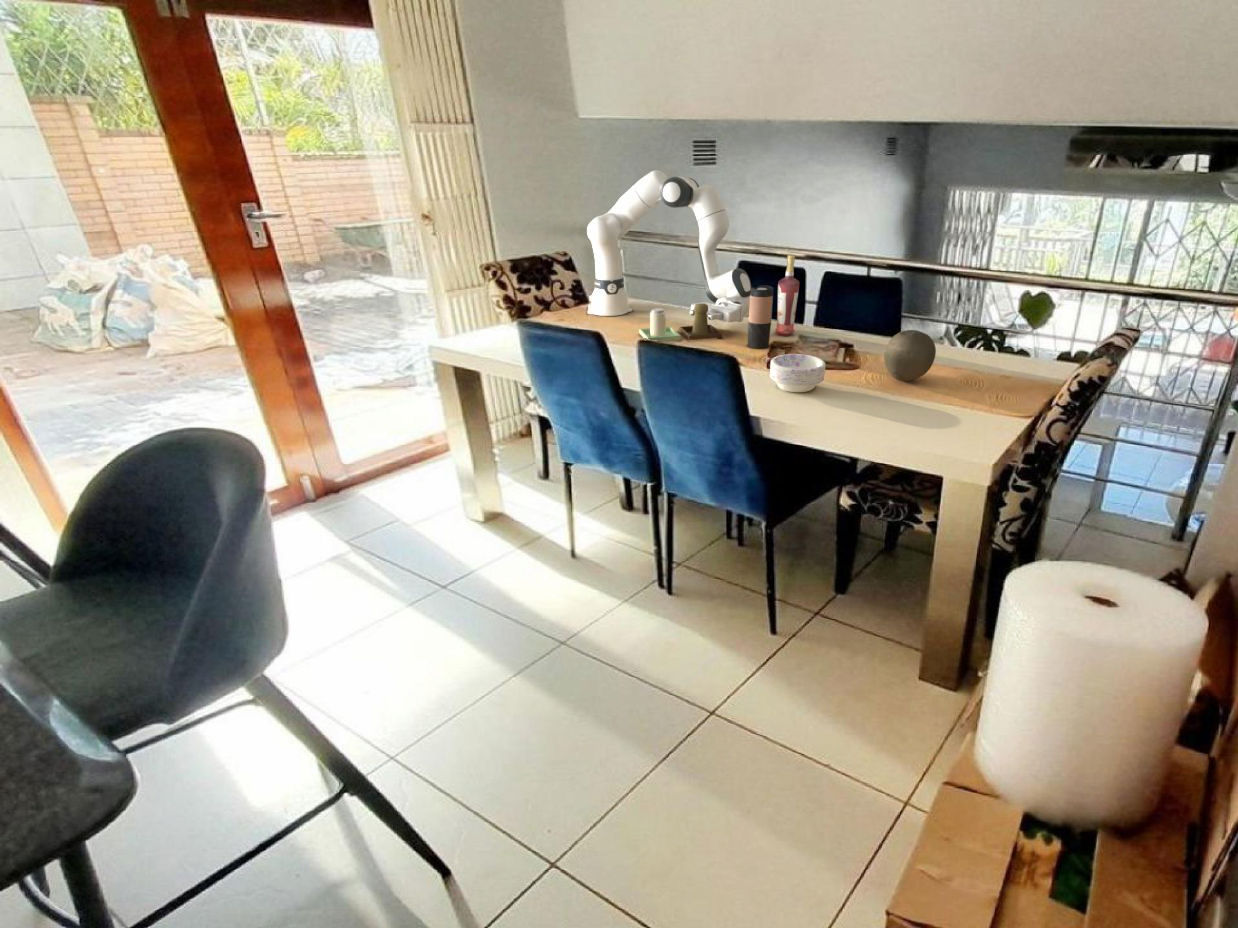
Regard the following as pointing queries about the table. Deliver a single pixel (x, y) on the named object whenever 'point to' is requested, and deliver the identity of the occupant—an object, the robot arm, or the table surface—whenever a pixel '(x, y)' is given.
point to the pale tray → (669, 335)
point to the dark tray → (711, 334)
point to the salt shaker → (657, 322)
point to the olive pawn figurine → (700, 319)
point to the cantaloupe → (909, 355)
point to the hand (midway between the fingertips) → (700, 315)
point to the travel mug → (760, 316)
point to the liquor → (787, 300)
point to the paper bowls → (797, 372)
